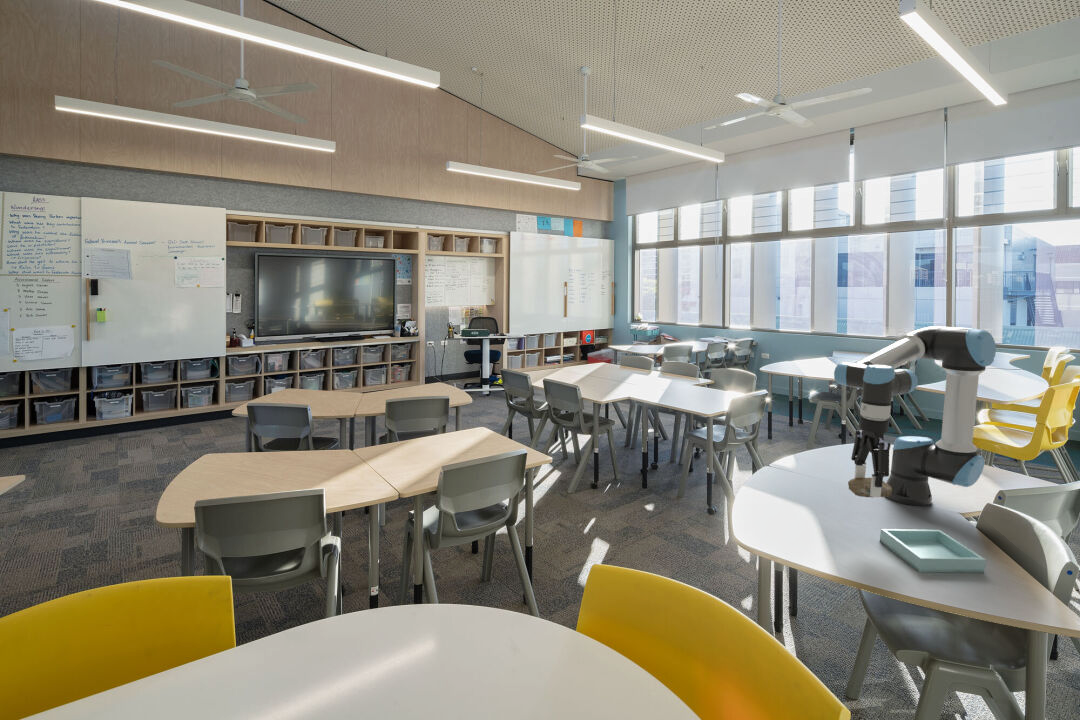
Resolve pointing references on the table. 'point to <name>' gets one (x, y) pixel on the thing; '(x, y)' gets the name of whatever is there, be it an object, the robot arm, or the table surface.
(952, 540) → the tray
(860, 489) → the rock
